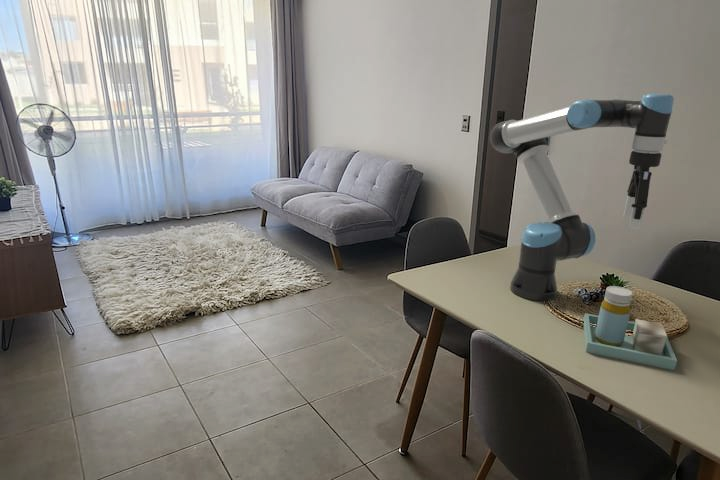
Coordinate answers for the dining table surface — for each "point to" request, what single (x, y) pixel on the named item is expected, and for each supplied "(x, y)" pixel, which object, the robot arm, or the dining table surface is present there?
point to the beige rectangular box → (648, 337)
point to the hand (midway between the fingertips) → (630, 223)
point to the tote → (626, 347)
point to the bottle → (613, 316)
